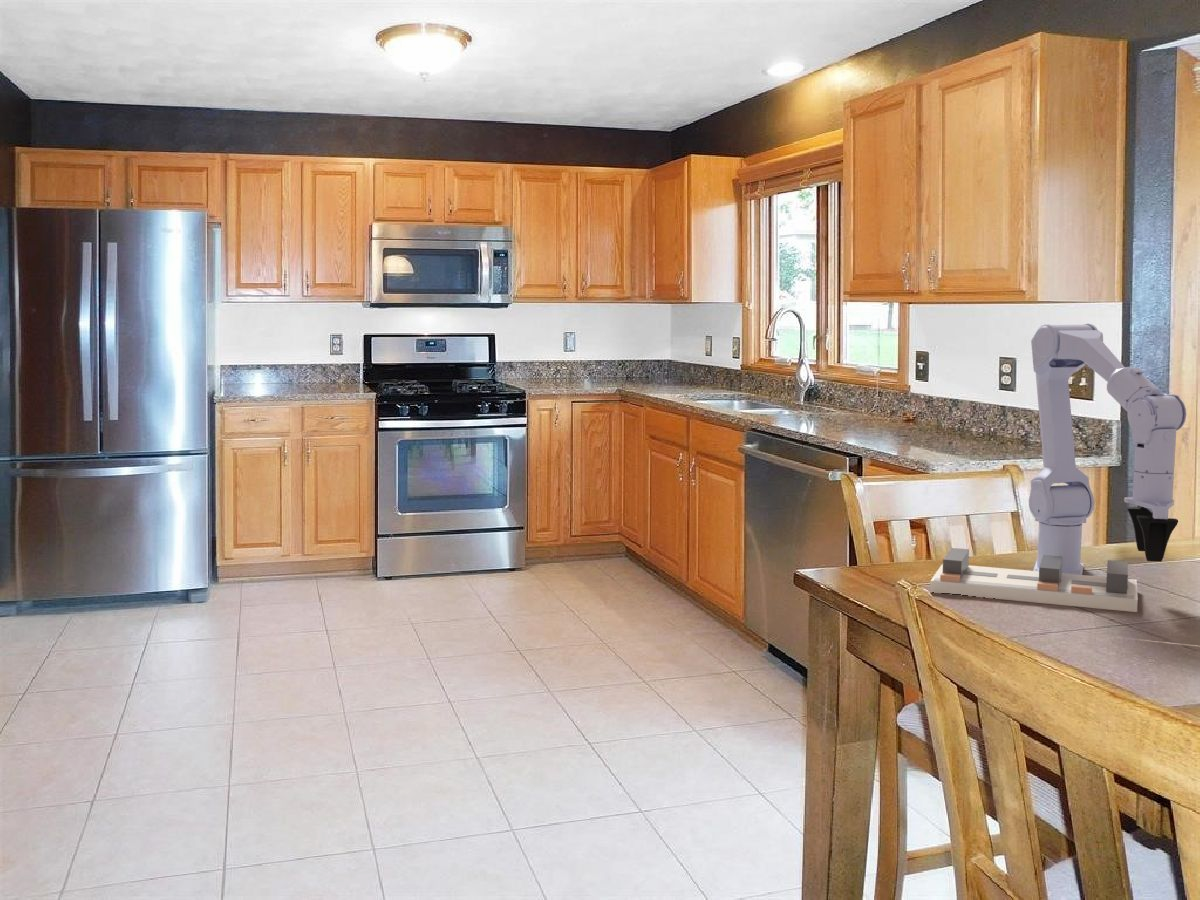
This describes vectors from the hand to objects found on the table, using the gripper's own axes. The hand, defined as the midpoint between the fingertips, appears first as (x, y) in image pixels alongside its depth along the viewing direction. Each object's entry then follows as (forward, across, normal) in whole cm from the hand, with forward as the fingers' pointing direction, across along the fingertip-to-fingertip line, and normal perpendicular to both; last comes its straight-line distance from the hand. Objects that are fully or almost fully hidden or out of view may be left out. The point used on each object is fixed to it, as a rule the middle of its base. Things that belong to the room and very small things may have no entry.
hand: (1149, 555), depth 177 cm
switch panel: (+7, -2, -17) cm, 19 cm away
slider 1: (+5, -4, -29) cm, 30 cm away
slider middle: (+5, -2, -14) cm, 15 cm away
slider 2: (+5, -1, -4) cm, 7 cm away
